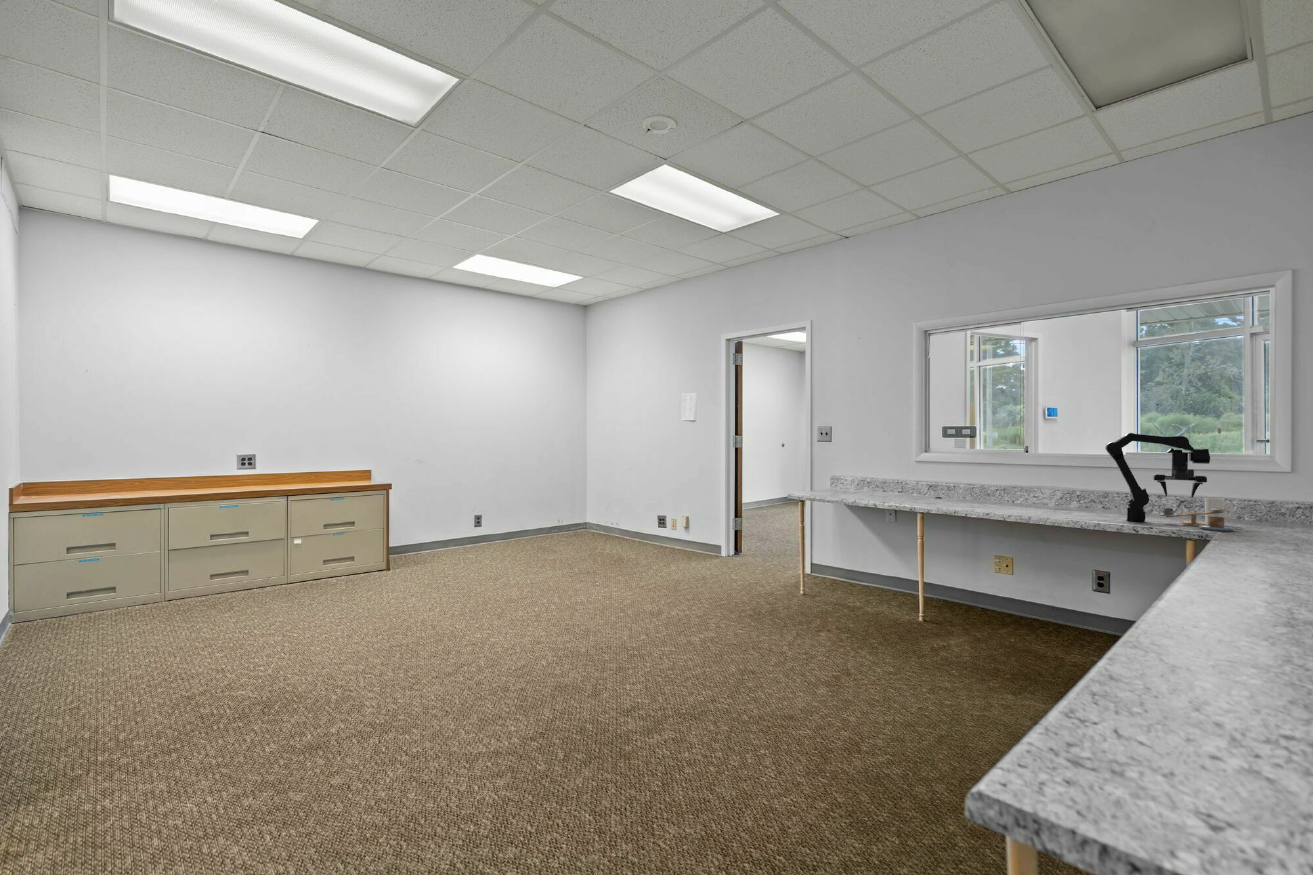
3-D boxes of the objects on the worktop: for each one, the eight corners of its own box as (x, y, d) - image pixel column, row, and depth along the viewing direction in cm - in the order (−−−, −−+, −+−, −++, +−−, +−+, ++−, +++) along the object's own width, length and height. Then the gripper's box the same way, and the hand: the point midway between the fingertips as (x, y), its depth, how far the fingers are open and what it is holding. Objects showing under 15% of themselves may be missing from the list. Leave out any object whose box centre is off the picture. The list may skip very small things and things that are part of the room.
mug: (1205, 524, 288) (1205, 498, 288) (1203, 523, 293) (1203, 497, 293) (1235, 526, 282) (1235, 499, 282) (1232, 524, 287) (1233, 498, 287)
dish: (1202, 530, 271) (1202, 527, 271) (1197, 527, 280) (1197, 524, 280) (1236, 532, 265) (1236, 529, 265) (1230, 529, 274) (1230, 526, 274)
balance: (1160, 523, 290) (1160, 507, 290) (1159, 522, 295) (1159, 505, 295) (1230, 528, 277) (1230, 510, 277) (1227, 526, 282) (1227, 509, 282)
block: (1210, 527, 272) (1210, 516, 272) (1208, 525, 276) (1208, 515, 276) (1224, 528, 270) (1224, 517, 270) (1221, 526, 274) (1222, 516, 274)
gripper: (1155, 463, 289) (1155, 497, 289) (1209, 464, 279) (1208, 499, 279) (1153, 462, 299) (1152, 495, 299) (1205, 463, 288) (1204, 497, 288)
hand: (1179, 496), depth 291 cm, fingers open, 9 cm apart
